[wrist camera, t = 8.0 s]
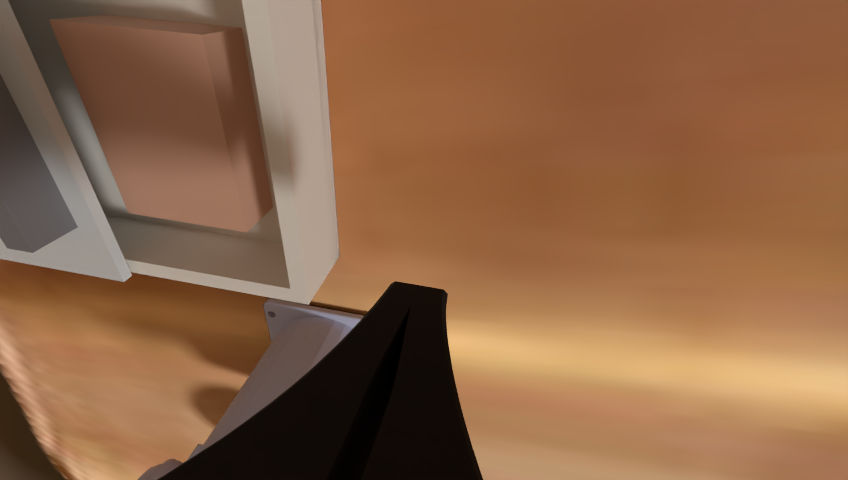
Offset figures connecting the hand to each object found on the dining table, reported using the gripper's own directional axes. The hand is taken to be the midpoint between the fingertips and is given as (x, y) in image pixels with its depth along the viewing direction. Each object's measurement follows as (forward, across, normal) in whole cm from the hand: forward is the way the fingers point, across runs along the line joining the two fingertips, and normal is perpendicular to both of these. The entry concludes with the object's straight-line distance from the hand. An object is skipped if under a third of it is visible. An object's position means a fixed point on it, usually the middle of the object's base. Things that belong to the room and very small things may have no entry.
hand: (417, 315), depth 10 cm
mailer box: (+9, +15, -1) cm, 18 cm away
